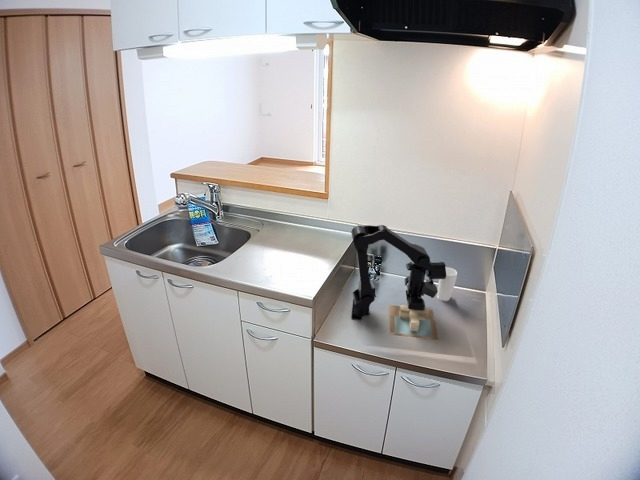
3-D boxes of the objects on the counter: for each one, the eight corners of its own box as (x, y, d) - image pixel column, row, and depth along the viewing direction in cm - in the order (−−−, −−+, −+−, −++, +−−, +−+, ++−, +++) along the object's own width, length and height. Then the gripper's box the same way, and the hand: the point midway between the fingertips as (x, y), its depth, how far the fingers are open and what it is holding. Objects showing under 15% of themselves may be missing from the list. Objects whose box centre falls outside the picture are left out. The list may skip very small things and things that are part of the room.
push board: (389, 337, 137) (390, 334, 136) (388, 307, 153) (388, 305, 152) (438, 342, 135) (438, 339, 134) (431, 312, 151) (432, 309, 150)
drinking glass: (451, 305, 155) (458, 276, 148) (435, 303, 156) (441, 274, 149) (449, 296, 161) (456, 268, 154) (434, 294, 162) (440, 266, 155)
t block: (399, 313, 147) (400, 305, 146) (423, 315, 146) (425, 307, 145) (400, 329, 139) (402, 321, 137) (427, 332, 138) (428, 324, 136)
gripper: (442, 294, 132) (434, 326, 139) (434, 267, 148) (428, 297, 155) (411, 291, 133) (405, 323, 140) (406, 264, 149) (402, 295, 156)
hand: (411, 309), depth 148 cm, fingers closed
